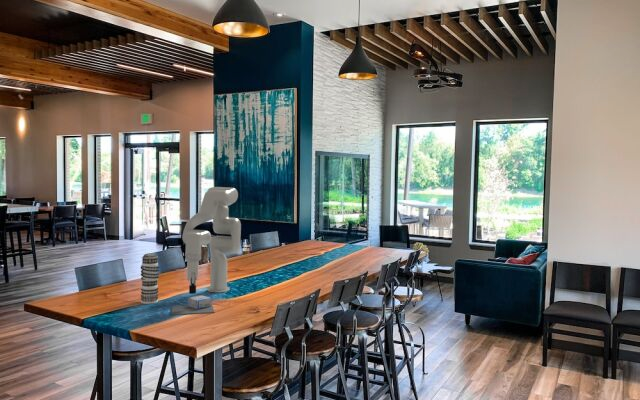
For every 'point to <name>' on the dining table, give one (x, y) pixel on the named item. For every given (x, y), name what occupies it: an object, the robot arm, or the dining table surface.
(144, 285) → the decorative candle
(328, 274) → the dining table surface
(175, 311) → the charcoal mat
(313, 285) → the dining table surface
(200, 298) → the medicine box
